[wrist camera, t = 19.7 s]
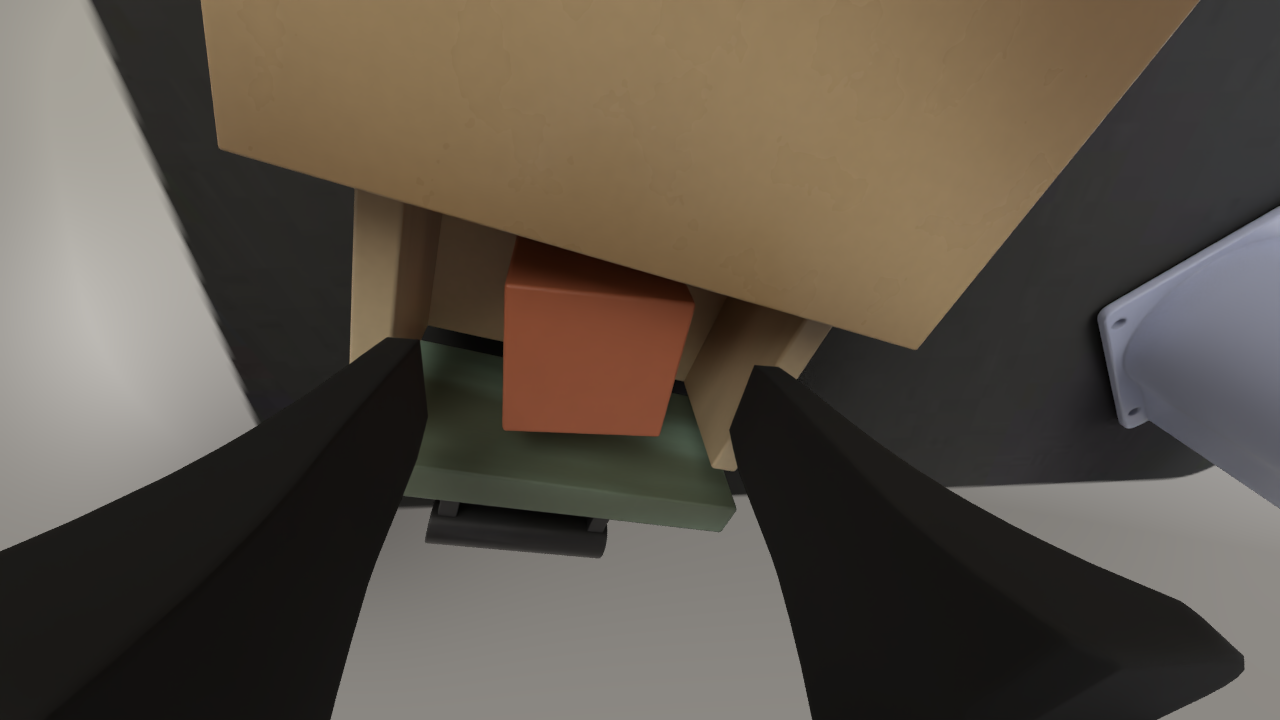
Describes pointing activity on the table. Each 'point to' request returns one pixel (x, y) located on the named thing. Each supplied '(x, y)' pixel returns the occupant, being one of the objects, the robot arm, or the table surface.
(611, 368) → the block
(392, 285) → the drawer
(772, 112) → the cabinet
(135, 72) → the table surface
